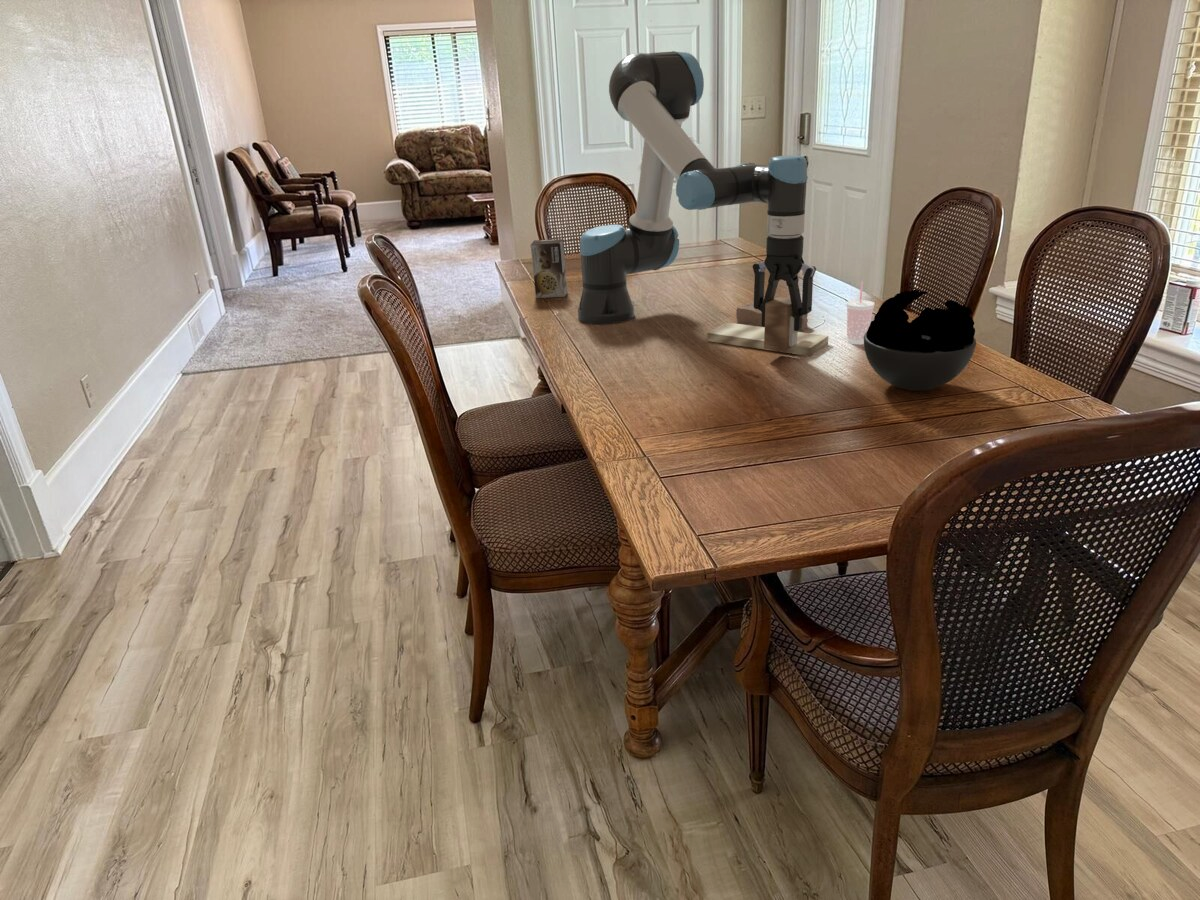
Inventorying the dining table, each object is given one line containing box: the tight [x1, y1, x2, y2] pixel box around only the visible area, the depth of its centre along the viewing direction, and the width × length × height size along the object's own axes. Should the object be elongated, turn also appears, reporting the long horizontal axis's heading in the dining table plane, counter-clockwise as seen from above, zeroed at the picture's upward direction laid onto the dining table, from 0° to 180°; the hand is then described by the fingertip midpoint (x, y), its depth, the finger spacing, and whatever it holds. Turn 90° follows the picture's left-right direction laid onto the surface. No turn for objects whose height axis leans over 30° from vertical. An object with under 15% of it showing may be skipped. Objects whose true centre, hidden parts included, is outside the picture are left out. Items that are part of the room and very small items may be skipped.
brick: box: [735, 300, 809, 330], centre depth 200 cm, size 17×8×5 cm, turn 42°
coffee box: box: [530, 238, 568, 299], centre depth 239 cm, size 9×6×16 cm
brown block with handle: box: [764, 296, 804, 352], centre depth 177 cm, size 5×13×10 cm, turn 143°
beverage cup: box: [845, 280, 875, 345], centre depth 182 cm, size 6×6×14 cm
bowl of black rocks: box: [863, 289, 977, 391], centre depth 152 cm, size 20×20×19 cm
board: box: [706, 321, 829, 357], centre depth 187 cm, size 26×10×2 cm, turn 53°
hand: (780, 342), depth 176 cm, fingers closed on brown block with handle, 5 cm apart
